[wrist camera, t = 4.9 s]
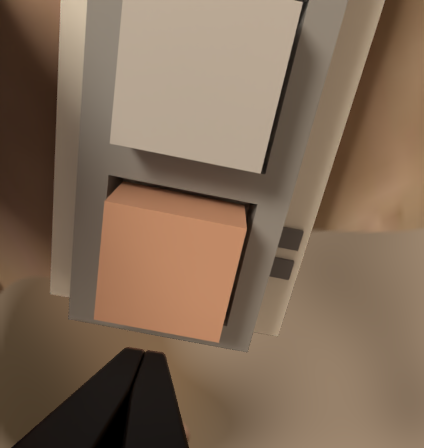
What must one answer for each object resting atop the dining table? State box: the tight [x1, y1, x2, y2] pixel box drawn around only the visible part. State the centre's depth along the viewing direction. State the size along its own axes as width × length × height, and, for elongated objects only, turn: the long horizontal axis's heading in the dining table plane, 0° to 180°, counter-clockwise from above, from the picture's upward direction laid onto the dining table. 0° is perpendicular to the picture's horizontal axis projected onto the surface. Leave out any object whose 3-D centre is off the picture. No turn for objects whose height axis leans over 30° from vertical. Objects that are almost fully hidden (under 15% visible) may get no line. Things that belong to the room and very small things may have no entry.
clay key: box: [94, 181, 247, 343], centre depth 15 cm, size 5×5×2 cm
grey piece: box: [50, 0, 385, 352], centre depth 15 cm, size 12×24×4 cm, turn 169°
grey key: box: [110, 0, 303, 174], centre depth 13 cm, size 5×5×2 cm
